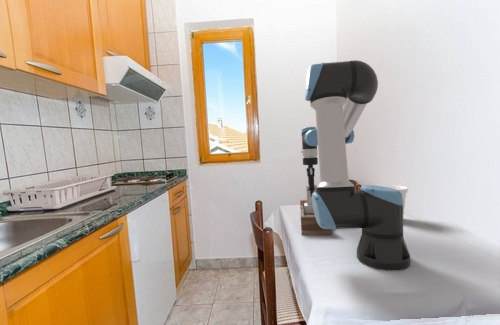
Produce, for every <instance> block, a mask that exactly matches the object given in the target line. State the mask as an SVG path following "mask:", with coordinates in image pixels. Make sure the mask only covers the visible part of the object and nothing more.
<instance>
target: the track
mask: <svg viewBox="0 0 500 325" xmlns="http://www.w3.org/2000/svg"><path fill="white" fill-rule="evenodd" d="M299 201H300V202H299V203H300V204H299V206H300V232H301V235H302V236H303V235H305V236H306V235H307V236H310V235H311V236H332V229H323V228H321V227H320V226H319V225H318V223H317V221H316V218H315V214H314V213H305V212H304V203H307V199H299Z"/></svg>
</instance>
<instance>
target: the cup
mask: <svg viewBox="0 0 500 325" xmlns="http://www.w3.org/2000/svg"><path fill="white" fill-rule="evenodd" d="M380 186H382V187H388V188H393V189H396V190H398V191H400V192H401V194H402V198H403V205H404V206H403V216H404V213H405V205H406V204H405V203H406V197H407V196H406V195H407V193H408V192H409V191H408V190H409V188H408V187H407V186H403V185H398V184H396V185H395V184H394V185H393V184H384V185H380Z"/></svg>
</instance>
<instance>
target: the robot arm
mask: <svg viewBox="0 0 500 325" xmlns="http://www.w3.org/2000/svg"><path fill="white" fill-rule="evenodd" d="M305 77H306V79H305V87H304V88H305V89H304V99H305V101H308V102H309V103H310V107H311V109H313V110H314V111H315V122H316V126H305V127H302V128H301V134H300V136H301V146H302V151H301V152H300V153H302V157H303V158H302V165H303V166H307V167H306V176H307V180H308V181H307V183H308V184H307V185H309V189H308V191H309V203H312V205H313V210H314V214H315V218H316V221H317V223H318V225H319V226H320V227H321V228H323V229H331V230H334V231H335V230H345V229H347V230H349V229H351V230H352V229H361V235H360V238H359V241H358V244H357V247H356V258H357V260H358V261H359V262H360V263H362V264H363V265H366V266H368V267H371V268H374V269H378V270H383V271H401V270H405V269H408V268H410V266H411V263H412V262H411V255H410V252H409V248H408V246H407V244H406V241H405V239H404V215H403V206H404V205H403V198H402V194H401V192H400V191H398V190H396V189H393V188H388V187H382V186H381V185H373V184H370V185H369V184H365V185H364V184H363V185H361V186H360V188H359V190H355V185H354V183H352V182H351V181H350V180H349V171H348V170H349V169H348V158H347V148H346V145H347V144H352V143H353V142H354V140H355V131H354V128H355V126H356V125H357V123H358V121H359V119H360V117H361V115H362V113H363V112H364V111H365V108H366V106H367V105H368V104H369V103H371V102H372V101H373V100H374V98H375V96H376V94H377V92H378V87H379V86H378V85H379V80H378V76H377V73H376V72H375V70H374V68H373V67H372V66H371V65H369V64H368V63H366V62H364V61H361V60H347V61H346V60H345V61H335V62H334V61H333V62H321V63H314V64H311V65H310V66H309V67H308V69H307V73H306V76H305ZM317 165H318V166H319V178H320V180H319V183H318V184H316V192H314V190H315V188H314V185H315V172H316V170H315V168H314V166H317ZM404 207H405V206H404Z"/></svg>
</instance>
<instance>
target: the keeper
mask: <svg viewBox="0 0 500 325" xmlns="http://www.w3.org/2000/svg"><path fill="white" fill-rule="evenodd" d="M316 186H317V184H314V188H315V190H314V192H316ZM305 187H306V200H307V203H304V212H305V213H314V210H313V205H312V203H309V191H308V189H309V185H308V184H306V186H305Z"/></svg>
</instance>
